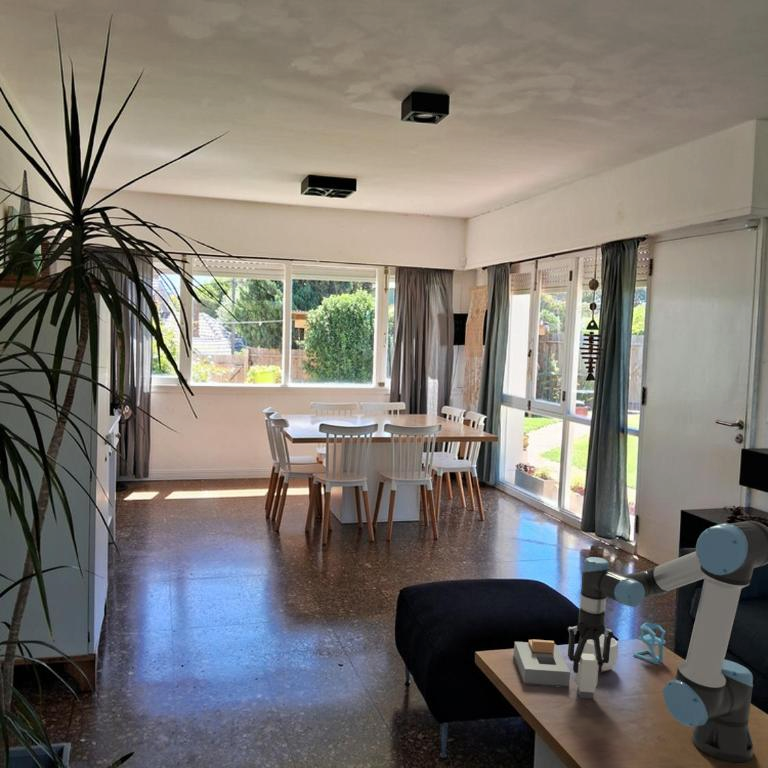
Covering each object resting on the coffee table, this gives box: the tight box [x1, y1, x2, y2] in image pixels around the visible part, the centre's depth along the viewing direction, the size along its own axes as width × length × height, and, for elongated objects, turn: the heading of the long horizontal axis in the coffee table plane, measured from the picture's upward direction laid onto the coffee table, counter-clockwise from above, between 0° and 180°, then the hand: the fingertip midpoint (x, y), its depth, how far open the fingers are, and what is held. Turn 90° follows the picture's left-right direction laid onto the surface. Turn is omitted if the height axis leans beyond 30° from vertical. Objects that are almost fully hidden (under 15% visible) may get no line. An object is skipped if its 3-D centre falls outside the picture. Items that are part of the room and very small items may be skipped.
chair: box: [633, 622, 667, 665], centre depth 250 cm, size 8×8×12 cm
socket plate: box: [513, 641, 571, 688], centre depth 236 cm, size 20×14×5 cm
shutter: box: [528, 638, 555, 653], centre depth 241 cm, size 7×7×4 cm
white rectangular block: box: [575, 653, 598, 699], centre depth 221 cm, size 4×4×12 cm
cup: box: [582, 633, 619, 673], centre depth 240 cm, size 12×12×10 cm
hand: (586, 683), depth 222 cm, fingers closed on white rectangular block, 4 cm apart
